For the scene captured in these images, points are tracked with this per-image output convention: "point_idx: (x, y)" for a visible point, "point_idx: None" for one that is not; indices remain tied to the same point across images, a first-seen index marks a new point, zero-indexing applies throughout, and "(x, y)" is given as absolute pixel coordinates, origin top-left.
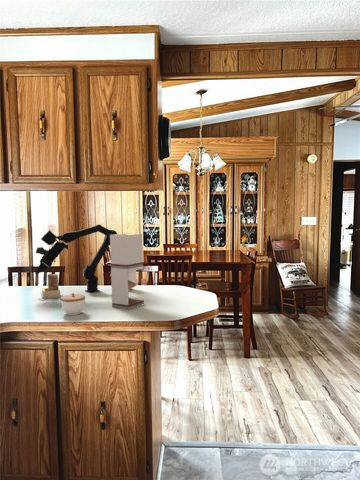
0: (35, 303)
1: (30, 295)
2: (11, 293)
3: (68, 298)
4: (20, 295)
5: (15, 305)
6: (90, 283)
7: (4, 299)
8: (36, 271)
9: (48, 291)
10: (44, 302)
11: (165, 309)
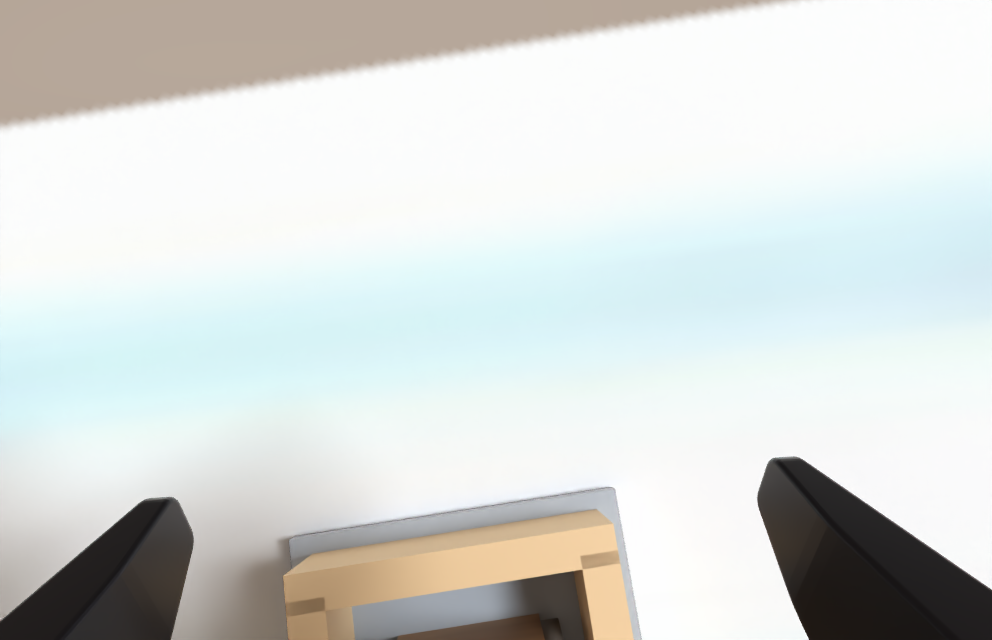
0: (37, 470)
1: (594, 340)
2: (811, 76)
3: None
4: (639, 208)
5: (42, 234)
6: None
7: (452, 55)
8: (92, 556)
9: None
10: None
11: None
